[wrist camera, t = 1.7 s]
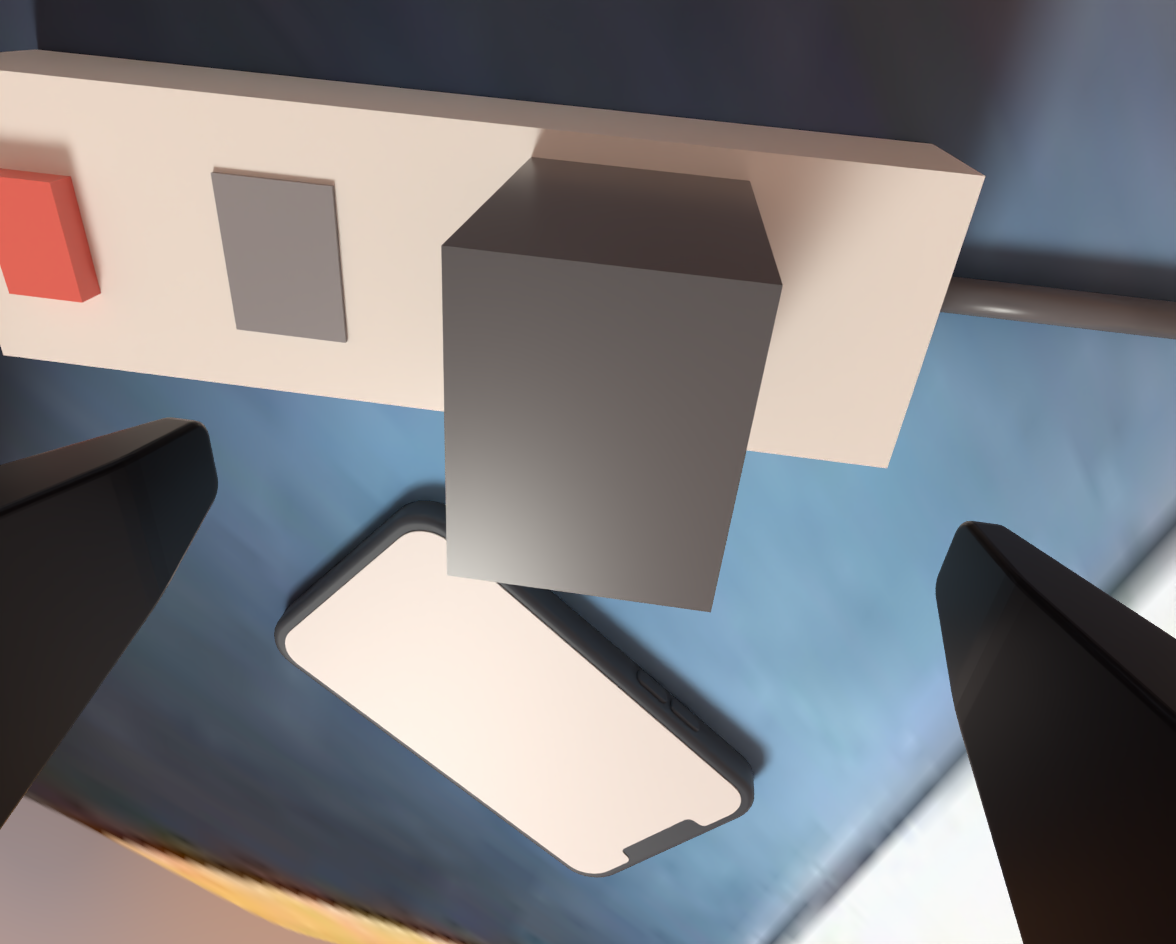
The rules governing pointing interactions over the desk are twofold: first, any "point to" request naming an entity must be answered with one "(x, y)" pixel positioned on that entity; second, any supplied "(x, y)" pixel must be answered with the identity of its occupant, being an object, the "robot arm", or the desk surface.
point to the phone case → (513, 700)
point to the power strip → (447, 236)
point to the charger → (603, 378)
